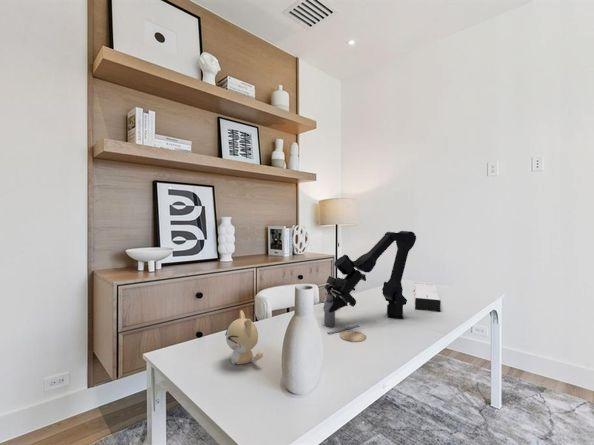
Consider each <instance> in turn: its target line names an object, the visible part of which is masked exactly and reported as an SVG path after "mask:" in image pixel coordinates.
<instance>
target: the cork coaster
mask: <svg viewBox="0 0 594 445" xmlns="http://www.w3.org/2000/svg"><path fill="white" fill-rule="evenodd" d="M339 338H340V339H341V340H343V341H347V342H352V343H359V342H363V341H364V342H365V340H366V339H367V335H366V333H363V332H361V331H358V330H345V331H341V332H339Z"/></svg>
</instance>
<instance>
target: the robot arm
mask: <svg viewBox="0 0 594 445" xmlns="http://www.w3.org/2000/svg"><path fill="white" fill-rule="evenodd" d="M416 241H417V236H416V233H415V232H414V231H407V230H401V231H399V232H395V231H386V232H385V233H384V235H383V237H381V238H380V240H379V241H378V242H376V244H374V246H372V248H371V249H370V250H369V251H367V252H366V253H364V254H362V255H360V256H359V257H358V258H356V260H352V259H351V258H350V256H348V255H347V254H343V255H342V256H340V257H339V258H337V259H336V260H335V261H334V264H333V265H334V267H335V268H337V269H338V271H339V272H340V273H341V274H342V275H346V276H345V277H344V278H342V277H336V278H335V277H332V276H331V275H328V277H327V280H326V284H325V286H324V287H323V288H324V289H325V291H326V293H327V294H333V301H335V302H334V303H333V304H332V306H331V307H330V309H329V312H330V313H331V312H333V311H335V312H336V311H337V310H339V309H342V308H344V307H349V306H350V307H353V308H354V307H355V306H356V305H357V300H356V298H354V296H353V295H352V294H351V292H352V291H353V292H354V291H356V286H357V285H358V284H359V282H360V281H364V282H366V281H367V277H366V273H371V272H372V271H373V269H374V268H375V266H376V264H377V261H378V259H379V258H380V257H381V256H382V255H383V253H384V252H386V251H387V250H388V249H389V247H390V246H391V245H392V244H393V243H394V242H395V244H396V248H397V249H396V254H395V258H394V262H393V265H392V269H391V274H390V278H389V279H388V280H387V281H384V282H383V285H382V286H383V287H382V288H381V291H382V296H383V297H384V301H386V302H388V304H387V305H386V315H387V317H388V318H391V319H399V320H400V319H401V320H403V319H404V306H405V305H407V303H408V299H407V298H406V297H405V296H404V295H403V290H404V289H403V286H402V279H403V275H404V272H405V267H406V263H407V261H408V260H407V259H408V256H409V252H410V251H411V249H412V248H413V247H414V246H415V244H416ZM362 272H363V273H362ZM326 301H327V300H326ZM322 308H323V309H324V306H323V307H322Z"/></svg>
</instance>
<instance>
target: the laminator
mask: <svg viewBox="0 0 594 445" xmlns="http://www.w3.org/2000/svg"><path fill="white" fill-rule="evenodd" d="M412 292H414V309H415V310H418V311H428V312H429V311H430V312H437V313H438V312H439V313H440V312H441V298H440V295H439V291H438V288H437V285H436V284H429V283H414V289H413V290H412Z"/></svg>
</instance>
